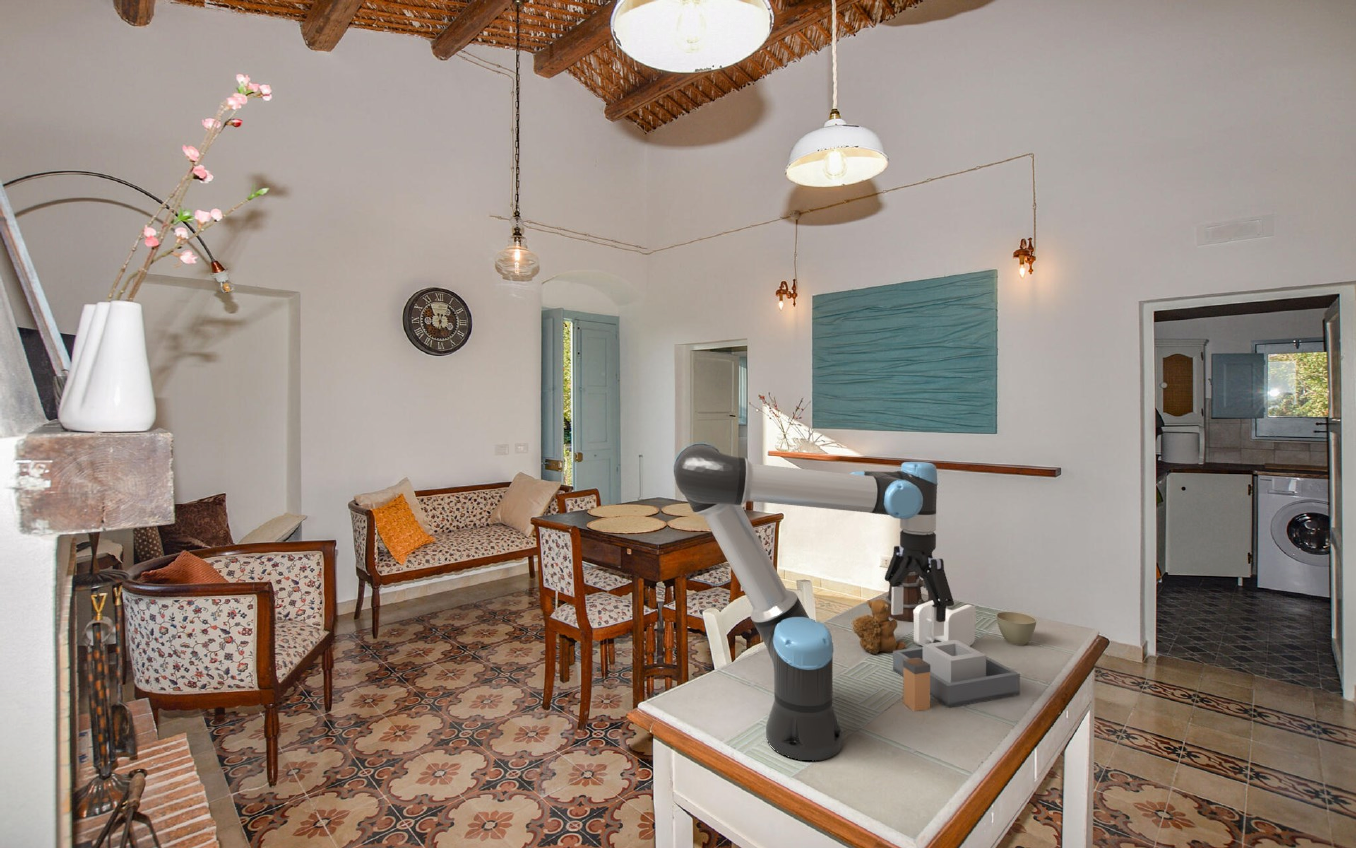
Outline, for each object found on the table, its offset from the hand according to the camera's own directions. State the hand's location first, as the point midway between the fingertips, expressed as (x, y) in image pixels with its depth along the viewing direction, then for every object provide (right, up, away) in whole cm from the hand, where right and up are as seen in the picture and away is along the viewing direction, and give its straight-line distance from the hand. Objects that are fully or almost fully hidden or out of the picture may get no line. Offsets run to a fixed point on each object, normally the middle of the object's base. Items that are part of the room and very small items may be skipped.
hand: (916, 624), depth 138 cm
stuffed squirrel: (+2, -18, +32) cm, 36 cm away
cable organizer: (+21, -17, +33) cm, 43 cm away
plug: (0, -19, 0) cm, 19 cm away
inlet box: (+14, -18, +11) cm, 25 cm away
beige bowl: (+42, -17, +35) cm, 57 cm away
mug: (+20, -16, +56) cm, 62 cm away
